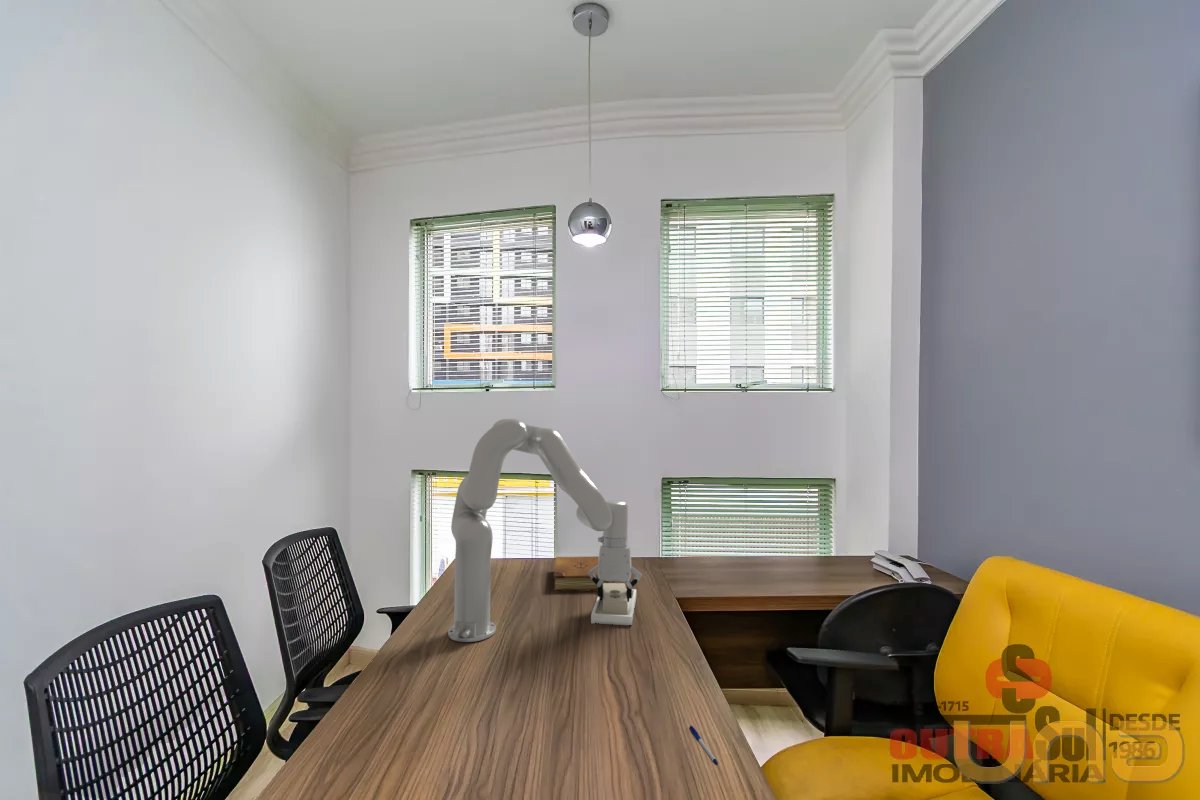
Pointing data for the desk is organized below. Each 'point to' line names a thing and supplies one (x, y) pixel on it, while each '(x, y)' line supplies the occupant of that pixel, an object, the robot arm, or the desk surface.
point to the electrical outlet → (615, 599)
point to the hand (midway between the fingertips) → (614, 599)
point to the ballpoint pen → (703, 744)
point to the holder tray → (602, 618)
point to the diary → (575, 573)
